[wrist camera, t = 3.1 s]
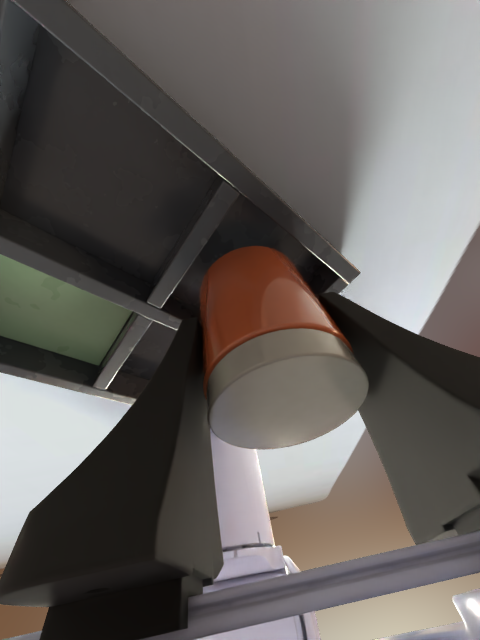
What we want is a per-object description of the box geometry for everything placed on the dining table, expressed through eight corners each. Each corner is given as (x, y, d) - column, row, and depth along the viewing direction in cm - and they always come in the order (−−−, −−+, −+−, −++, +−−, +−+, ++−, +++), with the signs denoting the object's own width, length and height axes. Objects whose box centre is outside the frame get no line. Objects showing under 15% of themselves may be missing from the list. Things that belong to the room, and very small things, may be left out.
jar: (256, 343, 14) (289, 460, 9) (180, 306, 12) (170, 435, 7) (319, 280, 12) (404, 387, 7) (242, 221, 10) (290, 319, 5)
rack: (198, 397, 20) (199, 422, 19) (-43, 324, 13) (-77, 353, 12) (341, 255, 14) (361, 272, 12) (23, -37, 7) (-33, -89, 5)
